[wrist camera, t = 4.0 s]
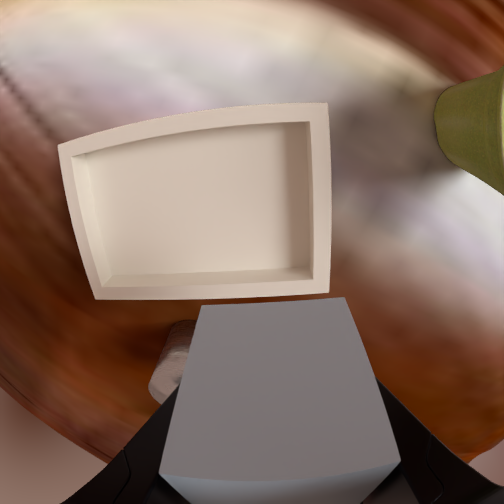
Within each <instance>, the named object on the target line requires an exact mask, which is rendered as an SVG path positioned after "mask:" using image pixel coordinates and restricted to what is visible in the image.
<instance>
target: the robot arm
mask: <svg viewBox="0 0 504 504" xmlns="http://www.w3.org/2000/svg"><path fill="white" fill-rule="evenodd" d="M375 379H376V382H377V385H378V388H379V391H380V394H381V397H382V400H383V403H384V406H385V409H386V412H387V415H388V418H389V421H390V425H391V428H392V431H393V435H394V438H395V441H396V445H397V448H398V452H399V455H400V459H401V461H400V463H399V464H398V465H397V466H396V467H395V468H394V469H393V470H392V472H391V473H390V474H389V475H388V476H387V477H386V478H385V479H384V480H383V481H382V482H381V483H380V484H379V485H378V486H377V487H376V488H375V489H374V490H373V491H372V492H371V493H370V494H369V495H368V496H367V497H366V498H365V499H364V500H363V501H362V502H361V503H360V504H504V486H500V485H497V484H495V483H493V482H491V481H490V480H488V479H487V478H486V477H484V476H483V475H481V474H480V473H479V472H477V471H476V470H475V469H473V468H472V467H470V466H469V465H468V464H467V463H465V462H464V461H463V460H461V459H460V458H459V457H458V456H456V455H455V454H454V453H453V452H451V451H450V450H449V449H448V448H447V447H446V446H445V445H444V444H443V443H442V442H441V441H440V440H439V439H438V438H437V437H436V436H435V435H434V434H432V435H431V432H430V431H429V430H428V429H427V428H426V427H425V426H424V425H423V424H422V423H421V422H420V421H419V420H418V419H417V418H416V417H415V416H414V415H413V414H412V413H411V412H410V411H409V410H408V409H407V408H406V407H405V406H404V405H403V404H402V403H401V402H400V401H399V400H398V399H397V398H396V397H395V396H394V395H393V394H392V393H391V392H390V391H389V390H388V389H387V388H386V387H385V386H384V385H383V384H382V383H381V382H380V381H379V380H378V379H377V378H376V377H375ZM179 387H180V384H179V385H178V386H177V387H176V388H175V390H174V391H173V392H172V393H171V394H170V395H169V397H168V398H167V399H166V400H165V401H164V402H163V404H162V405H161V406H160V407H159V408H158V409H157V410H156V412H155V413H154V414H153V415H152V416H151V417H150V419H149V420H148V421H147V422H146V423H145V424H144V425H143V426H142V428H141V429H140V430H139V431H138V432H137V433H136V434H135V436H134V437H133V438H132V439H131V440H130V441H129V442H128V443H127V445H126V446H125V447H124V450H121V451H120V452H119V453H118V454H117V455H116V457H115V458H114V459H113V460H112V461H111V462H110V463H109V464H108V465H107V466H106V467H105V468H104V469H103V470H102V471H101V472H100V473H98V474H97V475H96V476H95V477H94V478H93V479H92V480H90V481H89V482H88V483H87V484H86V485H84V486H83V487H82V488H81V489H79V490H78V491H77V492H76V493H74V494H73V495H72V496H71V497H69V498H68V499H67V500H65V501H64V502H62V503H60V504H191V503H190V502H189V501H188V500H186V499H185V498H184V497H183V496H182V495H181V494H180V493H179V492H178V491H176V490H175V489H174V488H173V487H172V486H171V485H170V484H169V483H168V482H167V481H166V480H165V479H164V478H163V477H162V476H161V475H160V474H159V469H160V465H161V460H162V456H163V452H164V447H165V443H166V439H167V435H168V431H169V427H170V422H171V418H172V414H173V410H174V406H175V402H176V398H177V395H178V391H179Z"/></svg>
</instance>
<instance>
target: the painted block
mask: <svg viewBox="0 0 504 504" xmlns="http://www.w3.org/2000/svg"><path fill="white" fill-rule="evenodd" d="M400 461H401V459H400V455H399V452H398V448H397V445H396V441H395V438H394V435H393V431H392V428H391V425H390V421H389V418H388V415H387V412H386V409H385V406H384V403H383V400H382V397H381V394H380V391H379V388H378V385H377V382H376V379H375V376H374V373H373V371H372V368H371V365H370V362H369V360H368V357H367V354H366V351H365V349H364V346H363V343H362V341H361V338H360V335H359V333H358V330H357V328H356V325H355V323H354V320H353V318H352V315H351V313H350V310H349V308H348V305H347V303H346V300H345V298H344V297H341V298H329V299H317V300H303V301H288V302H271V303H252V304H227V305H202V306H201V310H200V313H199V317H198V320H197V324H196V328H195V331H194V335H193V338H192V342H191V346H190V349H189V353H188V357H187V360H186V364H185V368H184V372H183V375H182V379H181V383H180V387H179V391H178V395H177V398H176V402H175V406H174V410H173V414H172V418H171V422H170V427H169V431H168V435H167V439H166V443H165V447H164V452H163V456H162V460H161V465H160V469H159V474H160V475H161V476H162V477H163V478H164V479H165V480H166V481H167V482H168V483H169V484H170V485H171V486H172V487H173V488H174V489H175V490H176V491H178V492H179V493H180V494H181V495H182V496H183V497H184V498H185V499H186V500H188V501H189V502H190V503H191V504H360V503H361V502H362V501H363V500H364V499H365V498H366V497H367V496H368V495H369V494H370V493H371V492H372V491H373V490H374V489H375V488H376V487H377V486H378V485H379V484H380V483H381V482H382V481H383V480H384V479H385V478H386V477H387V476H388V475H389V474H390V473H391V472H392V470H393V469H394V468H395V467H396V466H397V465H398V464H399V463H400Z"/></svg>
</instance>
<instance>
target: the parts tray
mask: <svg viewBox="0 0 504 504" xmlns="http://www.w3.org/2000/svg"><path fill="white" fill-rule="evenodd" d="M58 152H59V159H60V166H61V172H62V178H63V183H64V188H65V194H66V198H67V203H68V208H69V212H70V216H71V221H72V225H73V229H74V233H75V236H76V240H77V244H78V247H79V251H80V254H81V258H82V261H83V264H84V267H85V271H86V274H87V277H88V280H89V283H90V286H91V289H92V291H93V294H94V297H95V299H105V300H177V299H219V298H246V297H267V296H285V295H301V294H316V293H329V281H330V258H331V152H330V130H329V113H328V103H279V104H261V105H248V106H236V107H227V108H218V109H210V110H203V111H196V112H189V113H183V114H177V115H171V116H166V117H161V118H156V119H151V120H146V121H141V122H137V123H132V124H128V125H124V126H120V127H116V128H112V129H108V130H105V131H101V132H98V133H94V134H91V135H87V136H84V137H81V138H78V139H74V140H71V141H68V142H65V143H62V144H59V145H58Z"/></svg>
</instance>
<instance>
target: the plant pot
mask: <svg viewBox="0 0 504 504" xmlns="http://www.w3.org/2000/svg"><path fill="white" fill-rule="evenodd" d="M434 121H435V125H436V130H437V140H438V143H439V145H440V147H441V149H442V151H443V153H444V154H445V156H446V157H447V158H448V159H449V160H450V161H451V162H452V163H454V164H455V165H457V166H458V167H460V168H462V169H463V170H465V171H467V172H469V173H470V174H472V175H474V176H476V177H477V178H479V179H480V180H482V181H483V182H485V183H486V184H488V185H489V186H491V187H492V188H494V189H495V190H497V191H498V192H500V193H501V194H502V195H504V66H503V67H501V68H500V69H499V70H498V71H496V72H493V73H490V74H487V75H484V76H481V77H478V78H475V79H472V80H469V81H466V82H463V83H460V84H458V85H455V86H452V87H450V88H448V89H446V90H445V91H444V92H443V93H442V94H441V96H440V97H439V99H438V101H437V104H436V107H435V111H434Z"/></svg>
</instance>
